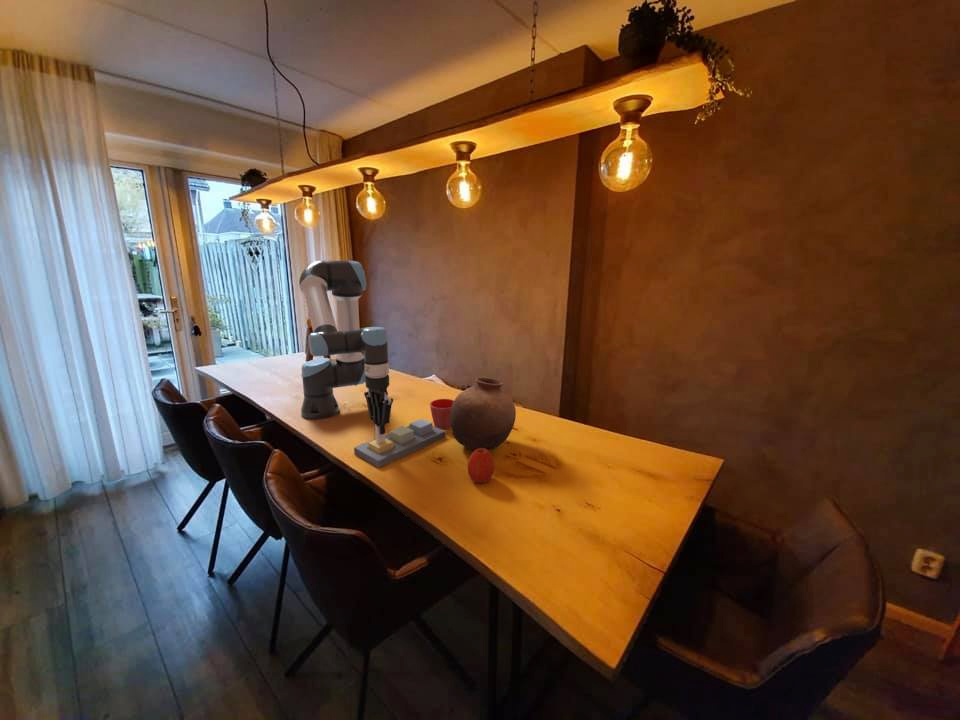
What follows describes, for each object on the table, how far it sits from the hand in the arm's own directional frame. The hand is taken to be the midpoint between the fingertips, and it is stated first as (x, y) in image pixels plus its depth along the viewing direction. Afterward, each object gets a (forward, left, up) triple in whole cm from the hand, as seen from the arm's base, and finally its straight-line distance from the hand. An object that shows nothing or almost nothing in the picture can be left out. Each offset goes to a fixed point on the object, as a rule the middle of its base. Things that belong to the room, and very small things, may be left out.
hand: (380, 441), depth 129 cm
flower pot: (-1, +31, -5) cm, 31 cm away
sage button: (0, +9, -3) cm, 9 cm away
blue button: (0, +18, -3) cm, 18 cm away
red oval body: (+36, +10, -5) cm, 38 cm away
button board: (0, +9, -5) cm, 10 cm away
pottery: (+22, +28, -5) cm, 36 cm away
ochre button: (0, 0, -4) cm, 4 cm away
